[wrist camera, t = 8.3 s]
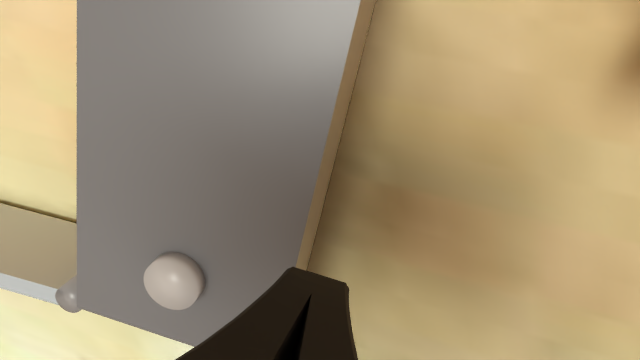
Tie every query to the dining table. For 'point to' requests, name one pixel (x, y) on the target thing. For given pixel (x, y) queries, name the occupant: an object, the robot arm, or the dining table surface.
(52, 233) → the grey long bar
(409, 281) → the dining table surface
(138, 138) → the camera body
